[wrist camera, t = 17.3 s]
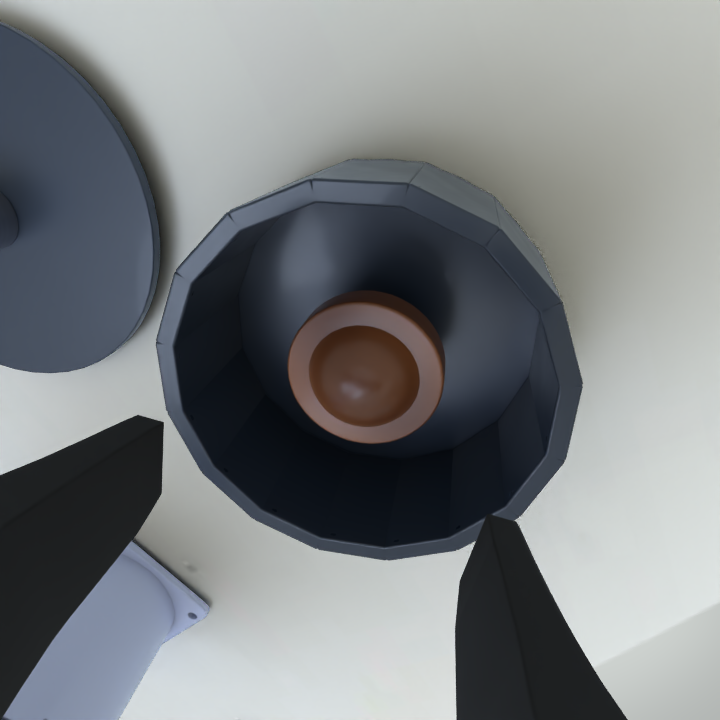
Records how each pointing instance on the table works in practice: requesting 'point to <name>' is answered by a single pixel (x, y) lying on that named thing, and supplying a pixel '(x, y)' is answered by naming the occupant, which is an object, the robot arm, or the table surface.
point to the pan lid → (67, 217)
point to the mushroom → (367, 367)
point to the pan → (406, 281)
